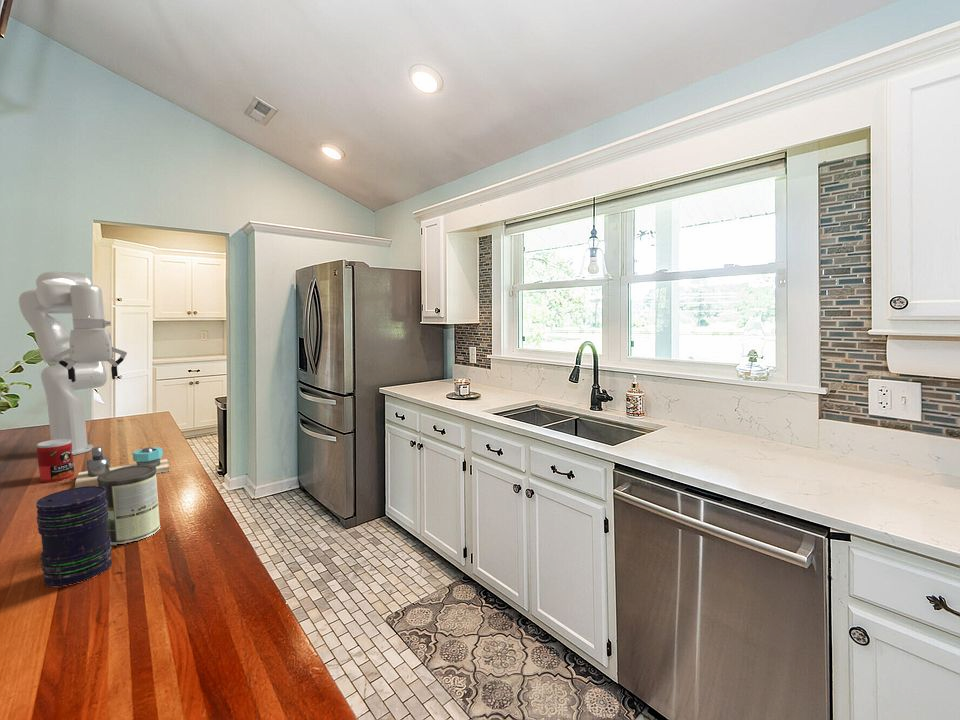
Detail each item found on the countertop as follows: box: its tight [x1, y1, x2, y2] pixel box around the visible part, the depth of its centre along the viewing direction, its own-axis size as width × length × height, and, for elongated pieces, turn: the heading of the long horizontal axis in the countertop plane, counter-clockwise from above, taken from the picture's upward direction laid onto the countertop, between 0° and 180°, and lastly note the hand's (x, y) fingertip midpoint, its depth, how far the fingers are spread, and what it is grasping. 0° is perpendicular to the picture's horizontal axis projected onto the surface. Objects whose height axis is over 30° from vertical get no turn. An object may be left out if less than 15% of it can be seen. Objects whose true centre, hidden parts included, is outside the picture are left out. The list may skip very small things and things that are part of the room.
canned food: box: [36, 439, 75, 483], centre depth 137 cm, size 8×8×11 cm
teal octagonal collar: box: [132, 446, 164, 462], centre depth 143 cm, size 7×7×2 cm
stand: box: [86, 446, 111, 477], centre depth 136 cm, size 5×5×8 cm
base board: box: [74, 458, 170, 488], centre depth 140 cm, size 11×22×2 cm, turn 127°
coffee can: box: [97, 465, 161, 546], centre depth 101 cm, size 10×10×14 cm
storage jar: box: [35, 485, 113, 587], centre depth 86 cm, size 10×10×15 cm
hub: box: [135, 447, 161, 467], centre depth 143 cm, size 6×6×6 cm
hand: (94, 380), depth 144 cm, fingers open, 9 cm apart
